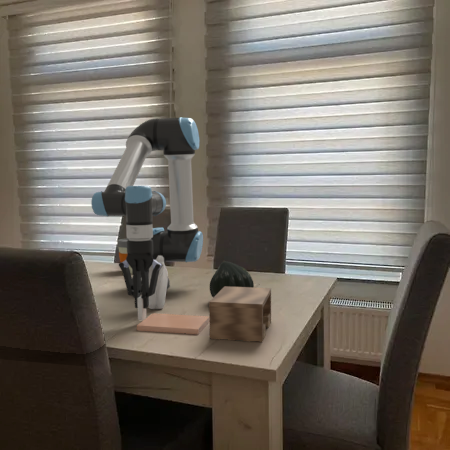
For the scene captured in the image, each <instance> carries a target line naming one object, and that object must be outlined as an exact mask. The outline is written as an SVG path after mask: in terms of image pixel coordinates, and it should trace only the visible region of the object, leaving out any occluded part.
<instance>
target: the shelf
mask: <svg viewBox="0 0 450 450" xmlns="http://www.w3.org/2000/svg"><path fill="white" fill-rule="evenodd" d="M208 302H209V303H208V306H209V307H208V308H209V309H208V310H209V311H208V313H209V314H208V316H209V317H210V322H209V339H210V338H211V339H210V340H220V339H228V340H227V341H235V340H243V341H242V342H250V341H260V342H259V343H263V342H264V340H263V339H265V337H266V335H267V334H266V330H267V329H268V328H269V327H270V325H271V323H272V288H271V287H254V288H253V287H228V286H224V287H223V288H222V289H221V290H220V291H219V292H218V293H217V295H216V296H215V297H214V298H213V297H212V298H211V300H209V301H208ZM266 328H267V329H266ZM269 329H270V328H269ZM262 341H263V342H262Z"/></svg>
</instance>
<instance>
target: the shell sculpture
mask: <svg viewBox="0 0 450 450" xmlns="http://www.w3.org/2000/svg"><path fill="white" fill-rule="evenodd" d="M156 261H157V262H159V263H162V264H163V265H162V267H161V269H160V270H159V275H158V280H157V285H156V290H155V293H154V294H153V295H152V296H149V307H148V308H149V309H150V310H162V309H163V308H164V307H165V305H166V304H165V303H166V297H167V296H166V294H167V291H168V288H167V283H168V278H169V273H168V272H169V271H168V269H167V266H166V265H164V257H163V256H158V257H157V259H156ZM152 271H153V264H152V265H151V267H150V268H149V286H150V280H151V276H152ZM160 273H161V274H160ZM141 281H142V277H141Z"/></svg>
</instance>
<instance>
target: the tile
mask: <svg viewBox="0 0 450 450" xmlns="http://www.w3.org/2000/svg"><path fill="white" fill-rule="evenodd" d="M208 324H210V317H209V315H208V316H206V315H205V316H204V315H192V314H191V315H189V314H188V315H187V314H171V313H158V312H157V313H154V312H153V313H151V314H150V315H148V316H146V318H145V319H144V320H141V322H139V323H138V324H137V325H136V331H141V332H156V333H157V332H158V333H171V334H184V333H186V334H187V335H199V334H200V333H201V332H202V331H203V329H205V327H206V326H207V325H208Z"/></svg>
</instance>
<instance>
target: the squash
mask: <svg viewBox="0 0 450 450" xmlns="http://www.w3.org/2000/svg"><path fill="white" fill-rule="evenodd" d="M254 284H255V283H254V280H253V278H252V276H251V273H249V271H248V270H247V269H246V268H244V267H243V266H240V265H239V264H236V263H233V262H230V261H227V260H226V261H225V260H223V261H222V262H221V263H220V264H219V265H218V268H217V269H216V271H215V273H213V276H212V277H211V279H210V282H209V293H210V295H211V297H212V299H213V298H214V297H215V296H216V295H217V293H218V292H219V291H220V290H221V289H222V288H223V287H224V286H228V287H253V288H255V286H254Z"/></svg>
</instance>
